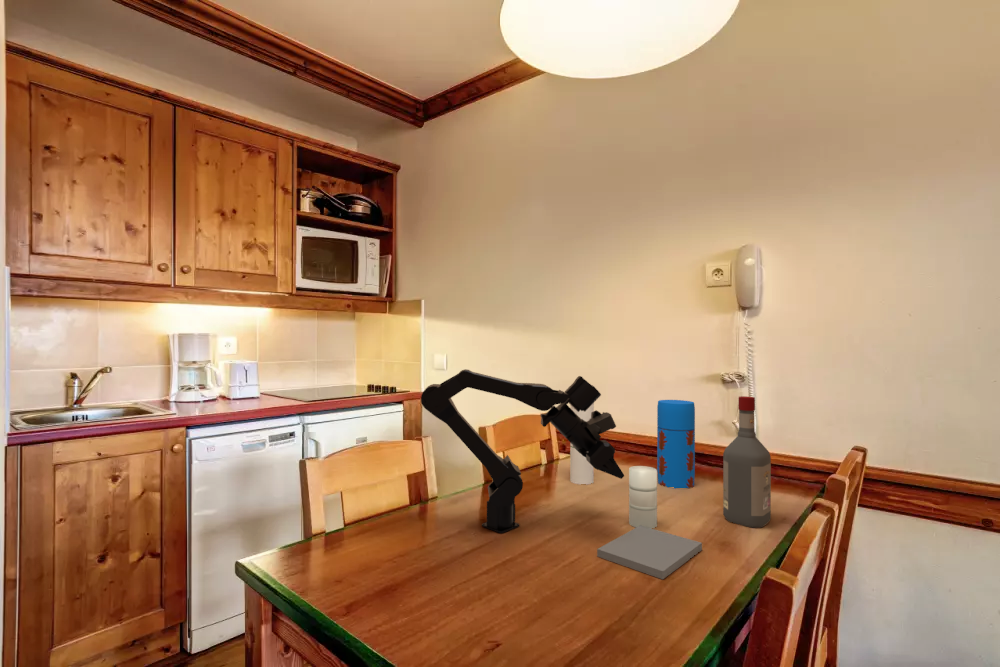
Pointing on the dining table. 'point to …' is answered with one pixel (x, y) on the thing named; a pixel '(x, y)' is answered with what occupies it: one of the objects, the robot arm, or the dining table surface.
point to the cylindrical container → (581, 457)
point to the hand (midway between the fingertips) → (616, 471)
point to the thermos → (676, 443)
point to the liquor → (747, 473)
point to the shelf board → (650, 551)
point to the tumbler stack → (643, 496)
